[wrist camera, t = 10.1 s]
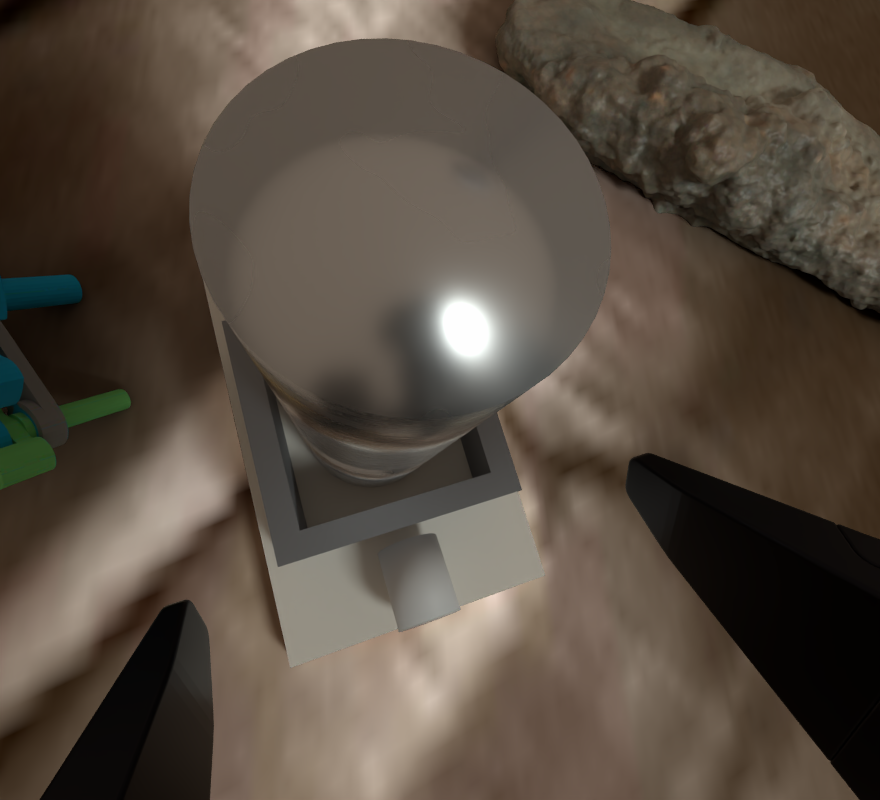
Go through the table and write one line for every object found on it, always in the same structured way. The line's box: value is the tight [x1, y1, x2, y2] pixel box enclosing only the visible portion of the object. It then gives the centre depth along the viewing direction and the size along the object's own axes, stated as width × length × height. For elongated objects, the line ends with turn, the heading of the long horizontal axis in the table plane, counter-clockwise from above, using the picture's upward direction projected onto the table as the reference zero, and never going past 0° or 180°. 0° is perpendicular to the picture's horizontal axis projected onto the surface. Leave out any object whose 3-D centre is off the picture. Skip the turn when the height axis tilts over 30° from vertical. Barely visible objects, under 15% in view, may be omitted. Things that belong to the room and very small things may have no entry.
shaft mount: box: [203, 280, 545, 668], centre depth 17 cm, size 14×9×4 cm, turn 17°
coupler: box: [189, 38, 611, 487], centre depth 11 cm, size 4×4×13 cm
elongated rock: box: [495, 0, 880, 313], centre depth 23 cm, size 35×5×10 cm
